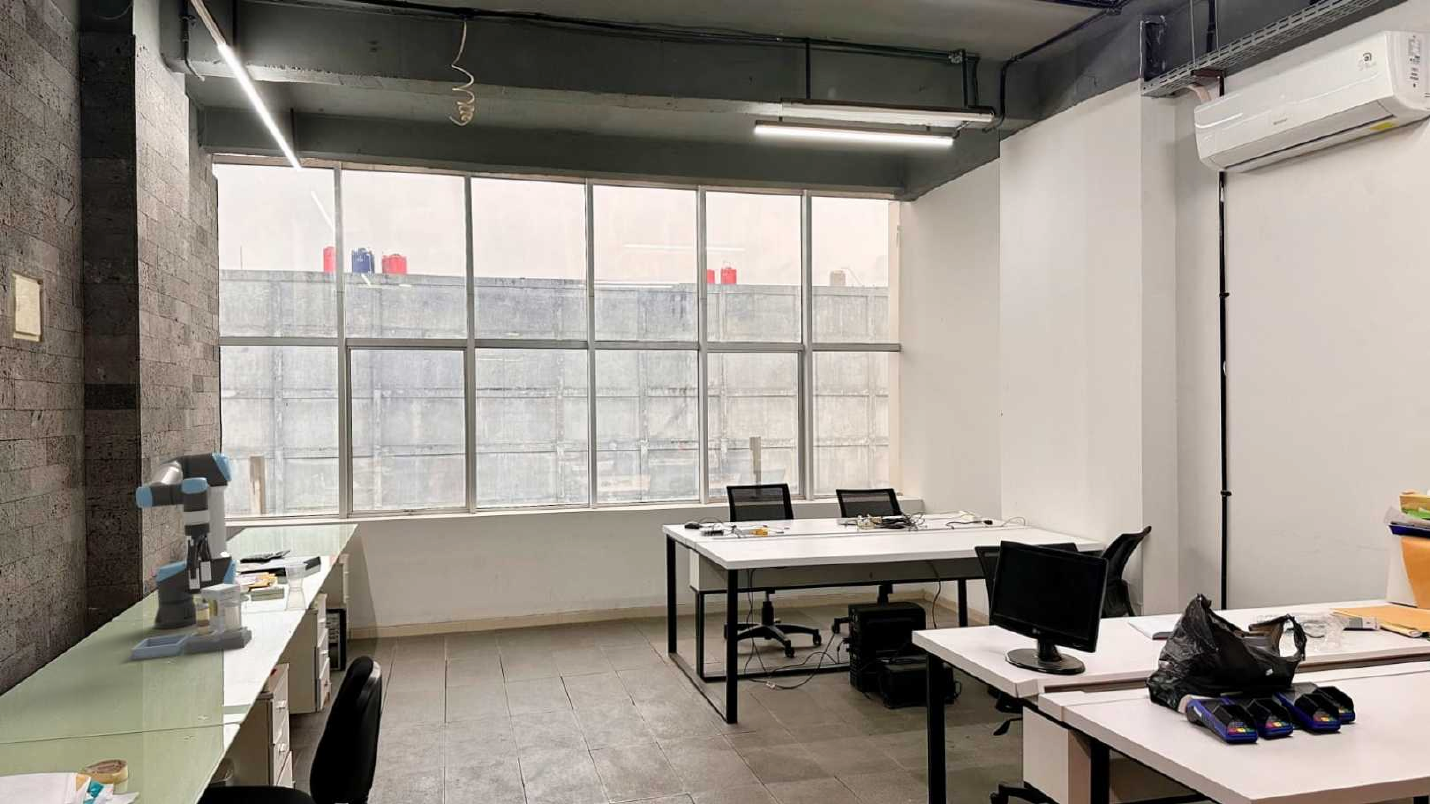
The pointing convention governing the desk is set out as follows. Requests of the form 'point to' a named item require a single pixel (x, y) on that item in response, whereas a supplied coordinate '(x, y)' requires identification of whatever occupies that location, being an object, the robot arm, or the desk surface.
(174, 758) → the desk surface
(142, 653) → the parts tray
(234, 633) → the fuse holder
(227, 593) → the supplement box
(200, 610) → the fuse
